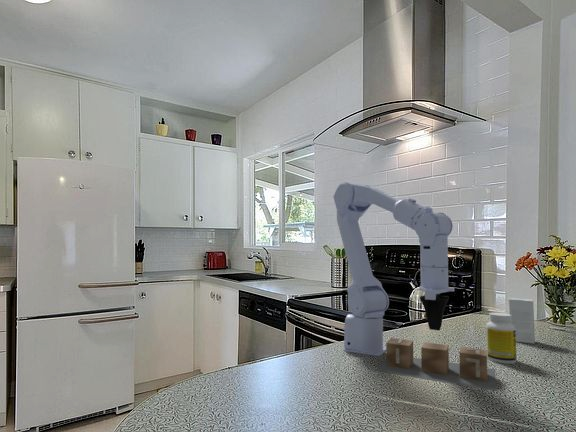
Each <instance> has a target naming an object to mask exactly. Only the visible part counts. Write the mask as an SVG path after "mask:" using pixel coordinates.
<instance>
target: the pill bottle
mask: <svg viewBox="0 0 576 432" xmlns="http://www.w3.org/2000/svg"><path fill="white" fill-rule="evenodd" d="M488 316H489V317H488V318H489V320H490V321H488V322H487V323H486V326H485V330H486V331H485V332H486V333H485V334H486V336H485V338H486V341H485V342H486V350H487V360H489V361H491V362H494V363H498V364H505V365H507V364H508V365H509V364H510V365H511V364H516V363H517V342H516V330H515V326H514V325H512V324H511V320H512V316H511V315H510V313H504V312H489V314H488Z"/></svg>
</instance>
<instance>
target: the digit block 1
mask: <svg viewBox="0 0 576 432" xmlns="http://www.w3.org/2000/svg"><path fill="white" fill-rule="evenodd" d="M385 343H386V346H385V347H386V351H385V353H386V357H385V358H386V366H392V367H398V368H404V369H410V368H411V366H412V365H413V357H414V340H409V339H403V338H395V337H390V338H389V340H388V341H386V342H385Z"/></svg>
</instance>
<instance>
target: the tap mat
mask: <svg viewBox="0 0 576 432" xmlns="http://www.w3.org/2000/svg"><path fill="white" fill-rule="evenodd" d="M373 371H374V372H375V371H376V372H382V373H387V374H394V375H399V376H404V377H405V376H406V377H409V378H410V377H411V378H416V379H423V380H430V381H434V382H441V383H447V384H451V385H453V384H454V385H458V386H465V387H468V388H469V387H470V388H476V389H482V390H489V391H494V392H497V382H496V380H497V379H496V369H494V368H489V367H487V382H486V381H479V380H473V379H467V378H461V377H460V363H456V362H455V363H453V362H449V370H448V373H447V375H442V374H436V373H429V372H423V371H422V367H421V358H420V357H419V358H418V357H414V356H413V365H412V366H411V368H410V369H404V368H398V367H392V366H386V357H385V358H384V359H383V360H382V361H381V363H379V364H378V366H377V367H376V368H375V369H374V370H373Z"/></svg>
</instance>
